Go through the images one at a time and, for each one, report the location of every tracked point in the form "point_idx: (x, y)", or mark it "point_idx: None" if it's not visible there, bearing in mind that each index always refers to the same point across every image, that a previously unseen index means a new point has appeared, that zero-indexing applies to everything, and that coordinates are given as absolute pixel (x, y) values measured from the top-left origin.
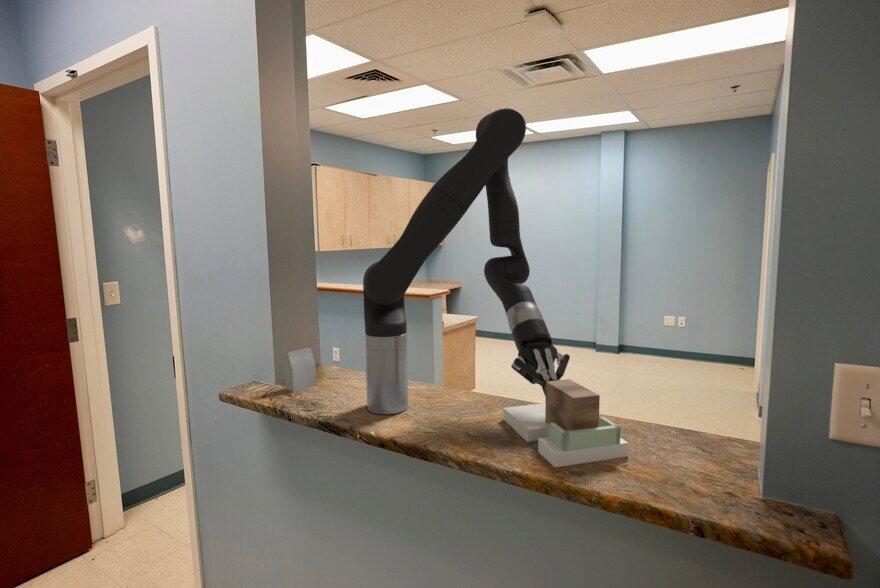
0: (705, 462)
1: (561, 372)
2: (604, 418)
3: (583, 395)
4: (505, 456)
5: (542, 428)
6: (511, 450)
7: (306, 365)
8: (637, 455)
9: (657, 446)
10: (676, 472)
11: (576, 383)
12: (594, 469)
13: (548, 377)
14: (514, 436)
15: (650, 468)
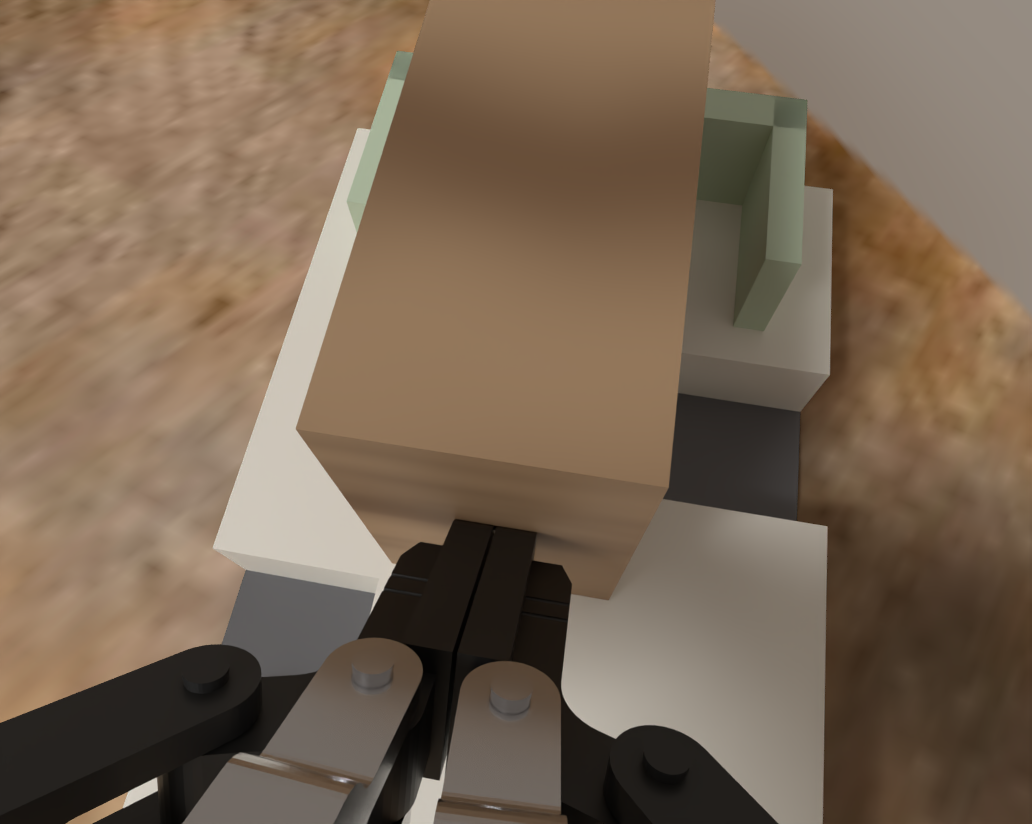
0: (123, 33)
1: (184, 676)
2: (368, 174)
3: None
4: (1024, 452)
5: (702, 507)
6: (955, 505)
7: None
8: (318, 177)
9: (132, 203)
10: (319, 26)
11: (358, 257)
12: None
13: (469, 686)
14: (840, 697)
15: (383, 81)
